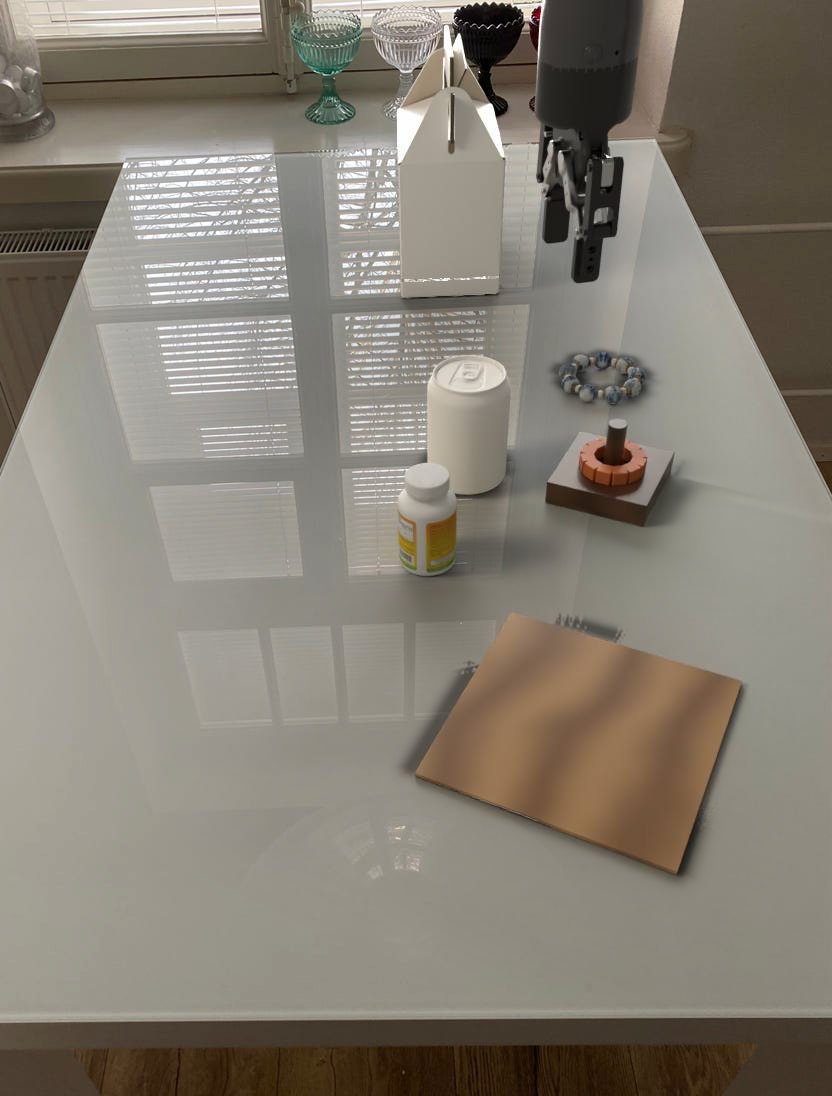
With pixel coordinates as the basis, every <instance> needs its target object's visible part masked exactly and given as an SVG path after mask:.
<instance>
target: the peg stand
mask: <svg viewBox="0 0 832 1096" xmlns="http://www.w3.org/2000/svg"><path fill="white" fill-rule="evenodd" d="M628 426H629V424H628V422H627V421H626V420H625V419H622V418H613V419H611V420H609V422H608V426H607V434H606V436H602V435H598V434H592V433H589V432H585V431H579V432H578V433H577V435H576V437H575V438H574V440H573V441H572V443H571V444H570V446H569V447H568V449H567V451H566V452H565V454H564V455H563V457H562V458H561V460H560V462H559V463H558V465H557V466H556V468H555V469H554V471H553V472H552V473H551V476H550V477H549V478H548V480H547V482H546V488H545V499H544V503H545V504H551V505H554V506H558V507H563V508H566V509H570V510H574V511H578V512H581V513H585V514H589V515H593V516H598V517H602V518H606V519H610V520H613V521H618V522H622V523H626V524H630V525H634V526H638V527H640V528H641V527H642V528H643V527H645V525H646V522H647V521H648V518H649V516H650V514H651V513H652V510H653V509H654V507H655V505H656V503H657V500H658V499H659V497H660V495H661V493H662V491H663V489H664V487H665V485H666V483H667V481H668V479H669V477H670V474H671V473H672V468H673V464H674V459H675V454H676V453H675V451H670V450H666V449H660V448H657V447H653V446H647V445H643V444H638V443H636V444H637V445H639V446H640V447H642V449H644V451H645V453H646V455H647V464H646V469H645V472H644V474H643V475H642V477H641V478H640V479H639V480H637V481H634V482H632V483H630V484H628V483H626V485H613V486H612V484H611V483H610V484H609V485H605V484H601V483H597V482H595V480H593V481H592V480H590V479H589V478H587V477H586V476H584V475H583V473H581V470H580V467H579V457H580V451H581V450H582V448H583V447H584V445H586V444H587V443H589V442H591V441H593V440H595V439H598V440H599V439H600V438H607V439H606V446H605V453H604V457H602V458H599V459H597V460H598V461H599V462H601V463H602V464H606V465H610V466H622V465H625V464H627V463H628V462H627V461H625V460H624V459H622V458H623V452H624V446H625V440H627V433H628V428H629V427H628Z"/></svg>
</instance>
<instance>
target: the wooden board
mask: <svg viewBox="0 0 832 1096" xmlns="http://www.w3.org/2000/svg"><path fill="white" fill-rule="evenodd" d="M742 684H743V680H741V679H738V678H733V677H731V676H727V675H723V674H720V673H717V672H714V671H710V670H707V669H704V668H700V667H697V666H693V665H690V664H686V663H683V662H680V661H676V660H673V659H670V658H667V657H664V656H661V655H655V654H653V653H650V652H647V651H643V650H640V649H636V648H633V647H630V646H626V645H623V644H619V643H616V642H613V641H609V640H606V639H604V638H603V639H602V638H600V637H596V636H593V635H589V634H585V633H583V632H579V631H575V630H572V629H569V628H565V627H562V626H559V625H556V624H552V623H549V622H546V621H543V620H539V619H536V618H532V617H529V616H527V615H526V616H525V615H522V614H519V613H515V612H512V611H511V612H510V613H509V615H508V616H507V619H505V622H504V623H503V625H502V626H501V628H500V630H499V631H498V633H497V635H496V637H495V638H494V640H493V642H492V643H491V645H490V647H489V648H488V650H487V651H486V653H485V655H484V657H483V658H482V660H481V661H480V663H479V665H478V667H477V668H476V670H475V671H474V674H473V675H472V676H471V679H470V680H469V681H468V683H467V685H466V687H465V688H464V690H463V692H462V693H461V695H460V697H459V698H458V699H457V702H456V704H455V705H454V707H453V708H452V710H451V712H450V714H449V715H448V717H447V718H446V720H445V722H444V723H443V725H442V727H441V728H440V730H439V732H438V734H437V735H436V737H435V739H434V740H433V742H432V744H431V745H430V747H429V749H428V750H427V751H426V753H425V755H424V757H423V758H422V760H421V762H420V764H419V765H418V767H417V769H416V770H415V772H414V777H416V776H417V777H416V778H418V777H420V778H419V779H421V778H422V779H421V780H423V779H425V780H424V781H426V780H428V781H427V782H429V781H431V782H433V783H432V784H434V783H437V784H440V785H442V786H445V787H447V788H449V789H448V790H450V789H453V790H456V791H458V792H461V793H463V794H467V795H470V796H474V797H476V798H480V799H482V800H485V801H487V802H489V803H493V804H495V805H498V806H500V807H504V808H506V809H508V810H512V811H515V812H518V813H520V814H522V815H524V816H528V817H530V818H532V819H535V820H537V821H539V822H540V823H543V824H546V825H548V826H550V827H549V828H551V827H552V828H551V829H553V828H554V829H553V830H556V829H557V830H556V831H559V832H562V833H563V834H567V835H570V836H572V837H575V838H578V839H581V840H583V841H586V842H588V843H590V844H592V845H596V846H599V847H601V848H604V849H606V850H609V851H612V852H614V853H617V854H620V855H622V856H625V857H628V858H630V859H633V860H634V861H635V860H636V861H638V862H641V863H644V864H646V865H648V866H650V867H654V868H657V869H660V870H662V871H663V872H664V871H665V872H668V873H669V874H672V875H676V876H677V875H678V872H679V869H680V866H681V863H682V860H683V857H684V855H685V852H686V848H687V846H688V843H689V840H690V837H691V834H692V831H693V828H694V825H695V822H696V819H697V816H698V814H699V810H700V807H701V805H702V801H703V799H704V795H705V793H706V790H707V788H708V784H709V781H710V779H711V778H710V777H711V776H712V772H713V769H714V767H715V763H716V760H717V757H718V754H719V751H720V748H721V746H722V742H723V739H724V736H725V733H726V731H727V728H728V725H729V722H730V719H731V716H732V713H733V710H734V707H735V704H736V701H737V698H738V696H739V692H740V690H741V687H742ZM431 782H430V783H431ZM437 784H436V785H437ZM442 786H441V787H442ZM445 787H444V788H445ZM447 788H446V789H447ZM453 790H452V791H453ZM458 792H457V793H458ZM461 793H460V794H461ZM463 794H462V795H463ZM540 823H539V824H540ZM543 824H542V825H543ZM548 826H547V827H548Z"/></svg>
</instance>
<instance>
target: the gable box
mask: <svg viewBox="0 0 832 1096" xmlns="http://www.w3.org/2000/svg"><path fill="white" fill-rule="evenodd" d="M443 31H444V32H443V47H440V48H438V49H435V50H434V51H433V52H432V53H431V54H430V55H429V56H428V58H427V60H426V62H425V63H424V65H423V66H422V69H421V70H420V72H419V74H418V75H417V77H416V79H415V80H414V81H413V84H412V86H411V87H410V89H409V91H408V93H407V94H406V96H405V97H404V100H403V101H402V102H401V105H400V107H399V108H398V109H397V110H396V129H397V132H396V133H397V171H398V172H397V177H398V179H397V181H398V222H399V224H398V225H399V263H400V264H399V265H400V266H399V267H400V279H401V278H402V279H423V278H432V279H440V278H442V279H444V278H450V279H452V278H468V277H483V276H486V277H488V276H498V275H500V276H501V265H502V244H503V225H504V205H505V204H504V203H505V182H506V163H507V161H506V160H507V159H506V155H505V151H504V146H503V143H502V138H501V133H500V130H499V125H498V121H497V119H496V114H495V110H494V106H493V104H492V103H491V102H490V101H489V98H488V97H487V96H486V93H485V91H484V90H483V88H482V86H481V85H480V84H479V82H478V80H477V78H476V76H475V75H474V73H473V72H472V70H471V68H470V66H469V65H468V63H467V59H466V56H465V51H464V46H463V45H464V44H463V40H462V36H461V33H457V36H456V38H455V41H454V43H453V44H452V39H451V33H450V27H449V25H444V30H443ZM500 282H501V277H500V278H496V279H472V280H448V281H424V282H401V281H400V297H401V296H402V297H408V296H432V295H457V294H482V293H498V292H499V293H500V287H501V284H500ZM499 293H498V294H499ZM402 297H401V298H402Z"/></svg>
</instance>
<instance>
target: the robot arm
mask: <svg viewBox="0 0 832 1096" xmlns="http://www.w3.org/2000/svg"><path fill="white" fill-rule="evenodd" d="M644 10H645V0H542V5H541V12H540V19H539V32H538V47H537V64H536V65H537V67H536V80H535V81H536V82H535V95H534V96H535V98H534V115H535V117H536V119H537V120H538V122H540V128H539V139H538V150H537V151H538V152H537V162H536V173H535V179H536V181H537V183H538V184H541V188H540V193H541V196H542V198H543V199H544V198H545V199H544V201H543V203H544V205H543V218H542V231H541V239H542V240H543V241H544V243H545V244H548V245H549V244H550V245H551V244H559V243H564V242H566V241H567V239H568V238H569V231H570V230H569V229H570V219H571V214H572V219H573V220H572V221H573V229H574V231H573V233H574V236H573V237H574V238H573V247H572V249H573V250H572V260H571V269H570V278H571V280H572V281H573V282H574V283H575V284H586V283H592V282H593V283H594V282H595V281H597V280H598V279H599V277H600V270H601V261H602V254H603V253H602V252H603V245H604V244H603V243H604V239H608V238H616V237H617V233H618V228H619V227H618V226H619V217H620V207H621V198H622V197H621V196H622V187H623V176H624V167H625V161H624V157H623V156H622V155H615V156H612V155H611V149H610V145H609V136H608V135H609V132H610V131H611V130H612V129H613V128H614V127H616V126H617V125H620V124H623V123H624V122H625V121H627V120H628V118H629V117H630V116H631V114H632V112H633V104H634V96H635V88H636V81H637V72H638V71H637V70H638V63H639V56H640V48H641V40H642V31H643V25H644V12H645V11H644ZM581 195H582V196H581ZM595 215H596V216H595ZM595 217H596V221H595Z"/></svg>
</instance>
